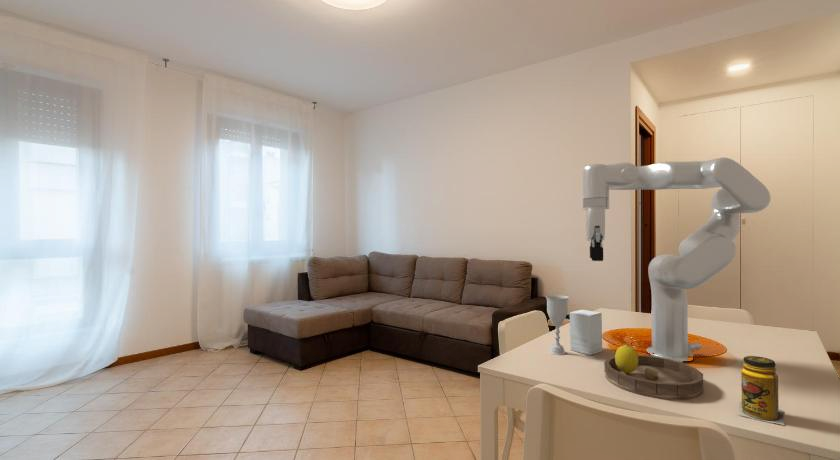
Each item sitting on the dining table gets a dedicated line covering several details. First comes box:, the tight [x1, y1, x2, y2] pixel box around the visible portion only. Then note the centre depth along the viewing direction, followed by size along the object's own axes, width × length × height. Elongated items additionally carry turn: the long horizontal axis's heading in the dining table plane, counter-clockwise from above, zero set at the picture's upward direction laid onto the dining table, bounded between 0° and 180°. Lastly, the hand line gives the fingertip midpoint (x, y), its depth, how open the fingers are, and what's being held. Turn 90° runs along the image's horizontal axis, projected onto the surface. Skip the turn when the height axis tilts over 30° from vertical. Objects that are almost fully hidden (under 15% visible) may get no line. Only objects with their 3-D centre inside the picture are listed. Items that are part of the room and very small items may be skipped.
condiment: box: [738, 355, 785, 426], centre depth 86 cm, size 7×8×12 cm
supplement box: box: [569, 309, 603, 356], centre depth 131 cm, size 7×7×13 cm
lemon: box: [614, 344, 638, 374], centre depth 107 cm, size 6×6×8 cm
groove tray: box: [603, 354, 704, 401], centre depth 105 cm, size 22×22×4 cm
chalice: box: [544, 294, 570, 356], centre depth 129 cm, size 7×7×18 cm
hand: (596, 259), depth 125 cm, fingers open, 9 cm apart
